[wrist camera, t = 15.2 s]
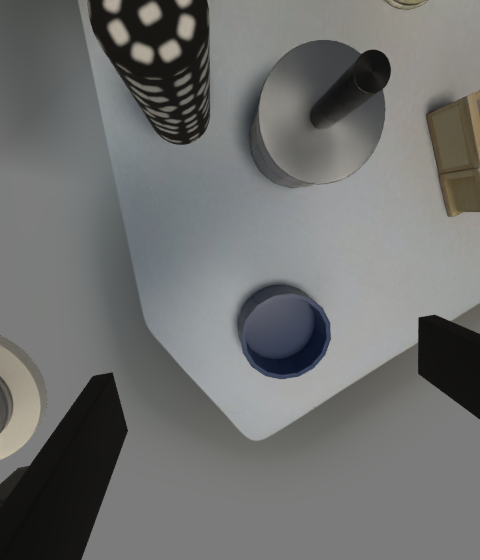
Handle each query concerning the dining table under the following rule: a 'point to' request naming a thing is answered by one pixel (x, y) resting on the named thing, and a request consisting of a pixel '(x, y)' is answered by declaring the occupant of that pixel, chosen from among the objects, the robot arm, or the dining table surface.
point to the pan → (283, 332)
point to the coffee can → (406, 3)
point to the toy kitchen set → (458, 152)
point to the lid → (323, 110)
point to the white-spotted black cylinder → (160, 59)
